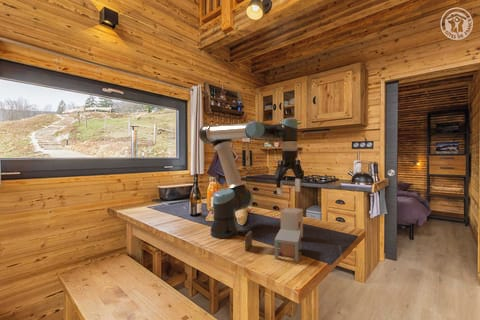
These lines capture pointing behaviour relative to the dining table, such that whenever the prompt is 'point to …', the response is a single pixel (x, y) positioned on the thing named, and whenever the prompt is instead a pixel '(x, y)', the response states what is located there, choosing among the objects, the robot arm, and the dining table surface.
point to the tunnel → (288, 240)
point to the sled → (260, 249)
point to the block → (287, 249)
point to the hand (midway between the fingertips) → (288, 192)
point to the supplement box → (292, 219)
